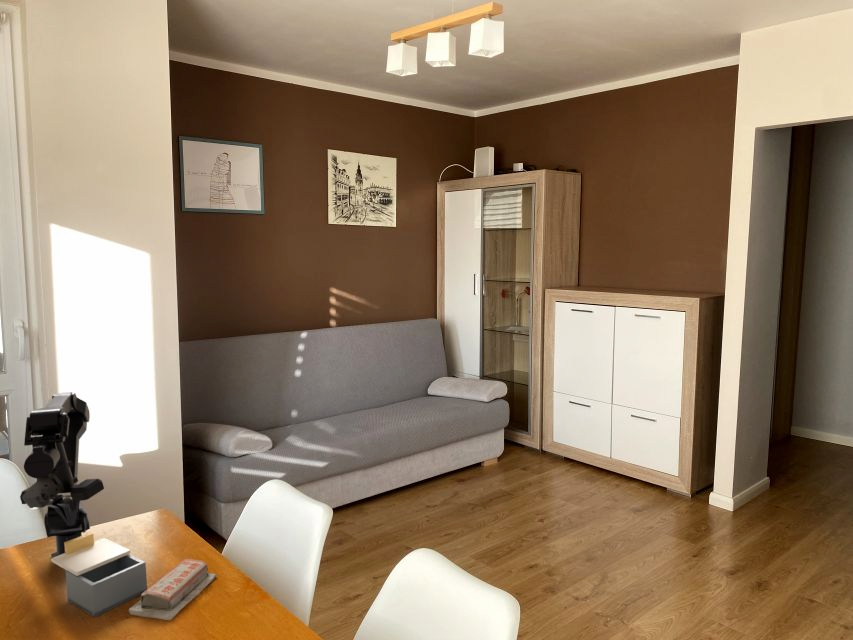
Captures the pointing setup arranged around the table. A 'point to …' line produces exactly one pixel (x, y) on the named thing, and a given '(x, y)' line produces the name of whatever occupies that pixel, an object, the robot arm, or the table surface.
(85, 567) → the lid
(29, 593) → the table surface
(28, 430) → the robot arm
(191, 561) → the packaged product
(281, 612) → the table surface
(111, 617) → the table surface
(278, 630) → the table surface
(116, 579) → the storage box
